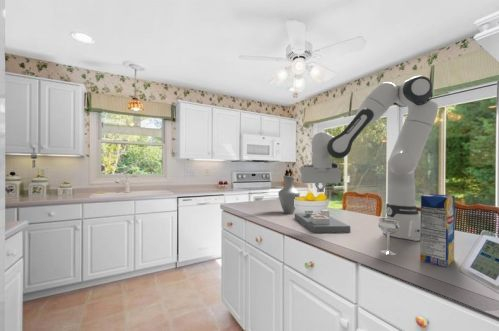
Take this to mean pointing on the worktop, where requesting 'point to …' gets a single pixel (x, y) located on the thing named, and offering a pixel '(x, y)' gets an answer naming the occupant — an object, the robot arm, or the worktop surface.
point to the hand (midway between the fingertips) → (320, 192)
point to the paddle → (325, 213)
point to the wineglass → (388, 230)
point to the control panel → (321, 223)
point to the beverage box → (437, 229)
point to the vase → (288, 195)
